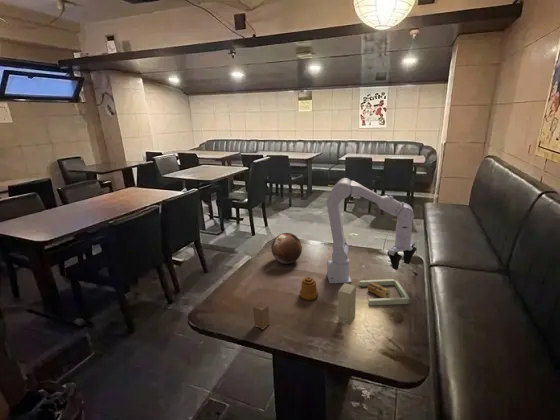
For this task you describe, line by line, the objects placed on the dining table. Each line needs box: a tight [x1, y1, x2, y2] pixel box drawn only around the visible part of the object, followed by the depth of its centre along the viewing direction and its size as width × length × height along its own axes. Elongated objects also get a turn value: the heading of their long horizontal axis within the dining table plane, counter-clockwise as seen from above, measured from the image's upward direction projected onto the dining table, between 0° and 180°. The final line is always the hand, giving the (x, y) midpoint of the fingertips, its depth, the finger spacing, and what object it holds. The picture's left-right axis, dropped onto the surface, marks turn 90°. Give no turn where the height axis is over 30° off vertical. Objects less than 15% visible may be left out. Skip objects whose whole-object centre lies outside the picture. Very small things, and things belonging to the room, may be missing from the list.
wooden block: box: [252, 301, 271, 328], centre depth 105 cm, size 4×4×8 cm
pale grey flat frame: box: [359, 278, 411, 306], centre depth 121 cm, size 15×14×2 cm
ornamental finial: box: [299, 276, 319, 301], centre depth 121 cm, size 8×8×8 cm
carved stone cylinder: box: [366, 282, 391, 298], centre depth 120 cm, size 8×4×4 cm, turn 34°
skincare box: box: [337, 283, 357, 325], centre depth 106 cm, size 6×4×12 cm
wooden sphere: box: [271, 232, 303, 265], centre depth 149 cm, size 15×15×15 cm
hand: (400, 266), depth 123 cm, fingers open, 7 cm apart
